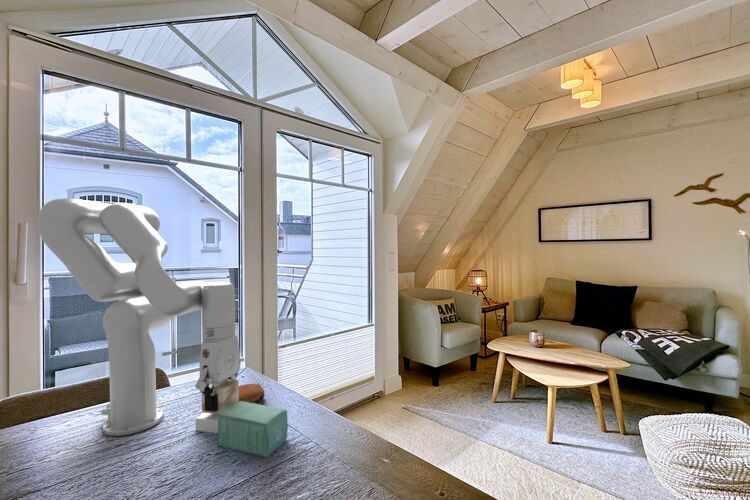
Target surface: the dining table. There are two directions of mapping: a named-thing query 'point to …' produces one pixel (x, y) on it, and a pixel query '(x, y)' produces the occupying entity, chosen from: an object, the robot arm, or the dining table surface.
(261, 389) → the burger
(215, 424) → the white slab
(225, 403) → the maple block
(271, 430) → the box
